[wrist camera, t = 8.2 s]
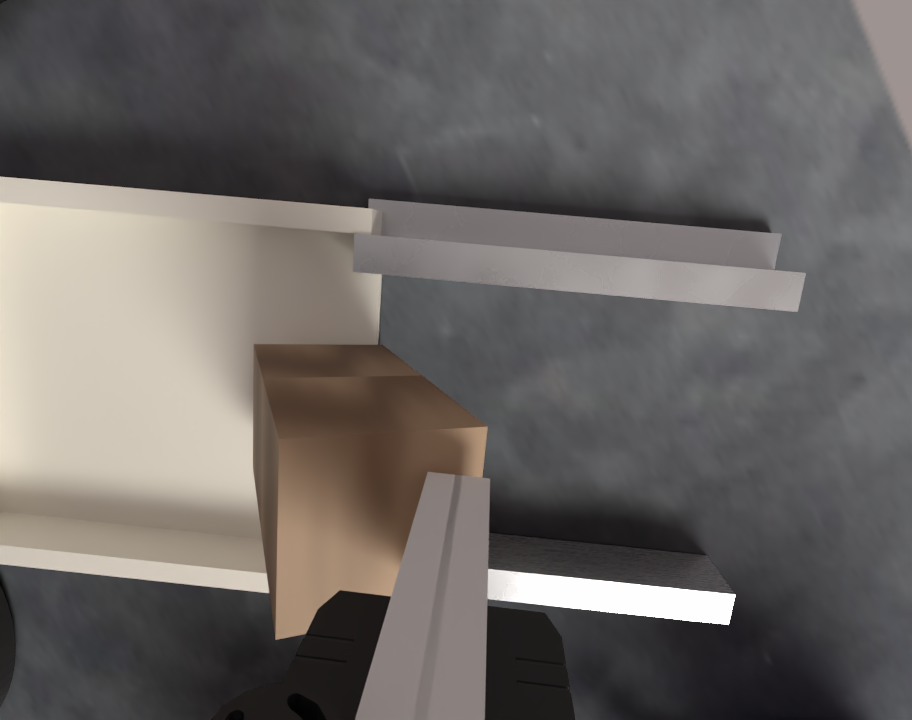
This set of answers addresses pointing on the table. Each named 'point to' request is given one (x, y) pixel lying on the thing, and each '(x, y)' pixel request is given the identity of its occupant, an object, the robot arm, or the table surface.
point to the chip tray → (154, 368)
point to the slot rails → (599, 272)
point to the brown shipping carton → (350, 482)
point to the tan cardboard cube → (314, 375)
